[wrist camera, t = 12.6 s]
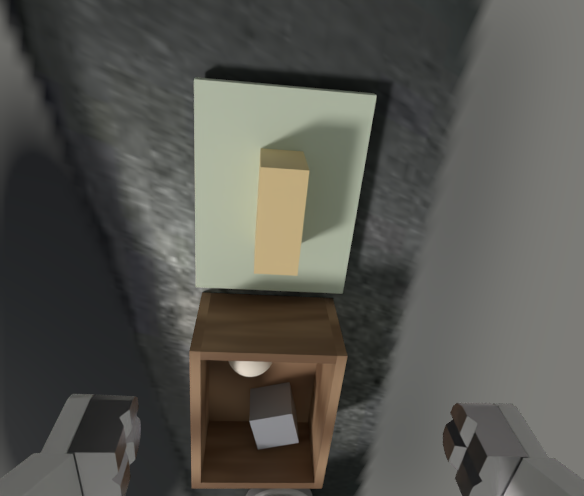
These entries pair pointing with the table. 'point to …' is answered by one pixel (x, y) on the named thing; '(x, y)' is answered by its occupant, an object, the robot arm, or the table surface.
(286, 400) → the slate cube
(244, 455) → the walnut box
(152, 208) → the table surface
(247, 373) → the cream ball
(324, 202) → the lid
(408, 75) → the table surface
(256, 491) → the travel mug
